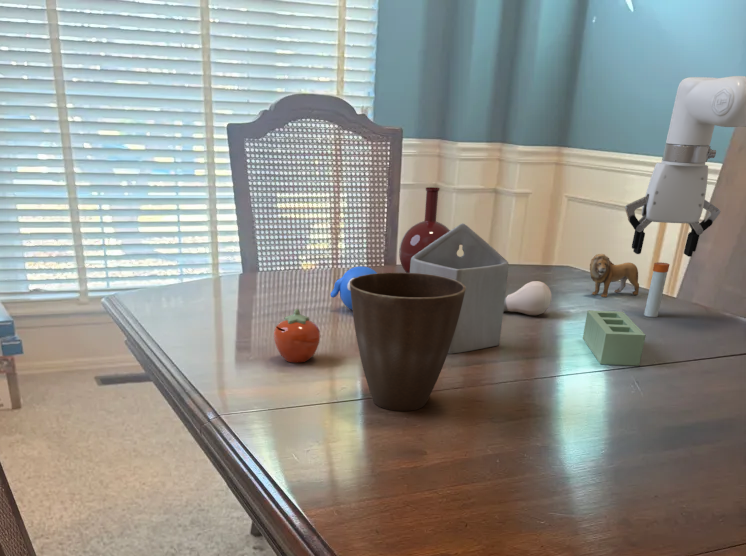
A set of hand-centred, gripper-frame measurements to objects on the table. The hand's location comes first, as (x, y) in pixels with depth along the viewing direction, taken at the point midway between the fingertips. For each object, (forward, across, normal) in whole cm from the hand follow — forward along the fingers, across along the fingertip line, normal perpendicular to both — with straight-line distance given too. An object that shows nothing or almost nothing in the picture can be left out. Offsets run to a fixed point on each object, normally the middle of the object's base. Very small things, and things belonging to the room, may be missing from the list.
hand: (662, 254), depth 149 cm
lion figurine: (+12, +4, -18) cm, 22 cm away
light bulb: (+12, +26, +4) cm, 29 cm away
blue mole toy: (+12, +58, +8) cm, 60 cm away
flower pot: (+12, +49, +60) cm, 78 cm away
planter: (+12, +41, +30) cm, 52 cm away
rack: (+12, +14, +28) cm, 34 cm away
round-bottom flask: (+13, +45, -24) cm, 52 cm away
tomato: (+12, +66, +42) cm, 79 cm away
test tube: (+12, 0, 0) cm, 12 cm away
